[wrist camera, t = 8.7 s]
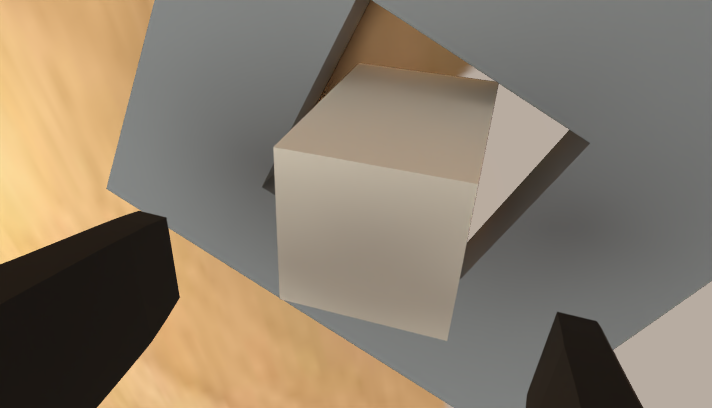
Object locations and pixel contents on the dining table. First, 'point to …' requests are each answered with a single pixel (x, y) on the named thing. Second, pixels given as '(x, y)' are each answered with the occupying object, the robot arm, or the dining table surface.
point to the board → (511, 220)
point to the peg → (382, 196)
